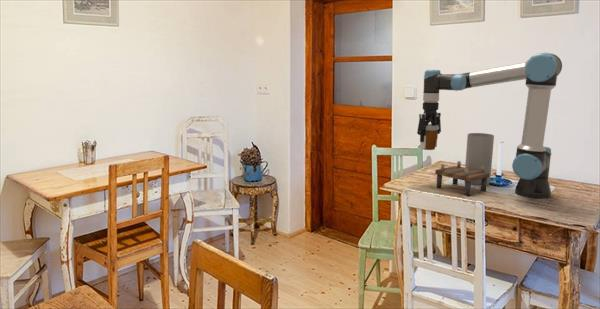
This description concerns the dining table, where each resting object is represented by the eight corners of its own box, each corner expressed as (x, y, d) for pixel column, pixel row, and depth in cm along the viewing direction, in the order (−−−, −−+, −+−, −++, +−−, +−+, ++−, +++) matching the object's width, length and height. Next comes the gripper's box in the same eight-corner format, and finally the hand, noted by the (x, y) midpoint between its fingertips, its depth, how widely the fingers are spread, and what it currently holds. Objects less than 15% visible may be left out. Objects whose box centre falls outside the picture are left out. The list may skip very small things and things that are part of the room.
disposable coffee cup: (440, 150, 231) (441, 126, 229) (420, 150, 232) (422, 126, 229) (435, 147, 241) (436, 123, 239) (416, 147, 241) (417, 123, 239)
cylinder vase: (462, 184, 241) (465, 135, 236) (466, 178, 251) (469, 132, 247) (488, 187, 235) (492, 137, 230) (491, 181, 246) (495, 134, 241)
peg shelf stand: (487, 191, 227) (490, 166, 225) (468, 196, 218) (470, 171, 216) (454, 183, 242) (455, 160, 240) (434, 187, 233) (435, 163, 231)
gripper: (437, 100, 241) (435, 144, 245) (410, 102, 229) (408, 148, 233) (450, 101, 235) (447, 146, 239) (423, 103, 223) (420, 150, 227)
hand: (428, 147), depth 236 cm, fingers closed on disposable coffee cup, 8 cm apart
